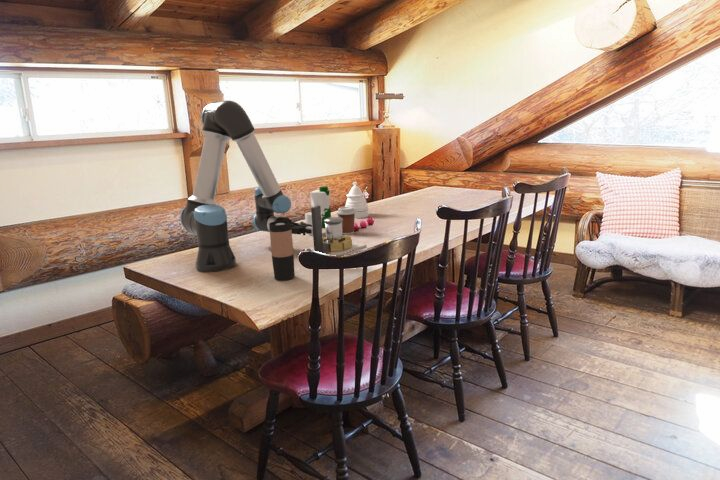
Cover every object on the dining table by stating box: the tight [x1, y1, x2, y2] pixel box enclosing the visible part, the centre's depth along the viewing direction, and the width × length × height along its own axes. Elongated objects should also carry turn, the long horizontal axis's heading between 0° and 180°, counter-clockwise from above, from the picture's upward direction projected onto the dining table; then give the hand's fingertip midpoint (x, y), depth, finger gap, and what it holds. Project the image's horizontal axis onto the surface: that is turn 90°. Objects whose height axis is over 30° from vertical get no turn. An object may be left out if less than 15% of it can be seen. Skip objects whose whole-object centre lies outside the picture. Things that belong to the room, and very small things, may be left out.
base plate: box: [305, 241, 367, 256], centre depth 223 cm, size 21×17×1 cm
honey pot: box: [344, 181, 369, 219], centre depth 287 cm, size 13×13×18 cm
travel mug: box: [269, 221, 296, 282], centre depth 186 cm, size 8×8×20 cm
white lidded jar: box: [324, 216, 344, 243], centre depth 222 cm, size 8×8×13 cm
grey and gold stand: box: [310, 205, 353, 254], centre depth 216 cm, size 22×16×20 cm
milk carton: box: [309, 186, 332, 229], centre depth 265 cm, size 9×9×20 cm
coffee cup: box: [335, 206, 356, 235], centre depth 250 cm, size 9×9×12 cm
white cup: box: [304, 211, 322, 236], centre depth 251 cm, size 8×8×10 cm
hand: (318, 231), depth 210 cm, fingers closed
